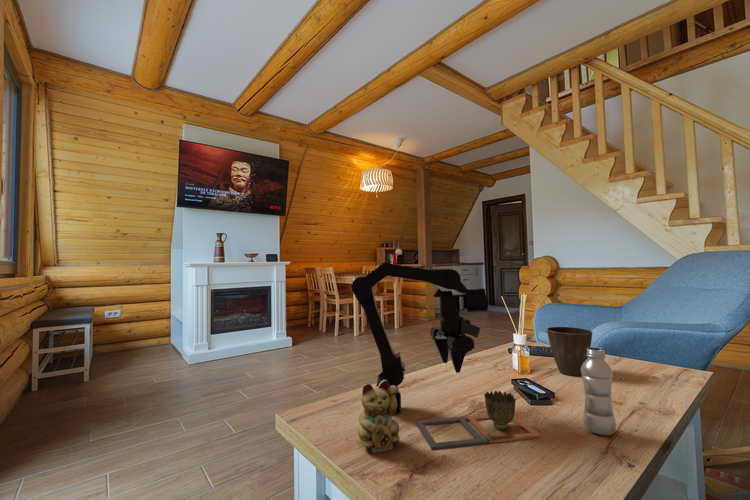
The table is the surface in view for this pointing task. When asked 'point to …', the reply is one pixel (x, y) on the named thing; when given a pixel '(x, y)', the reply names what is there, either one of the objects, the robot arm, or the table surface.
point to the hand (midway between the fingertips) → (451, 367)
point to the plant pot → (569, 348)
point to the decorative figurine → (378, 417)
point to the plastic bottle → (598, 393)
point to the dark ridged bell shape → (500, 408)
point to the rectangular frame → (473, 432)
